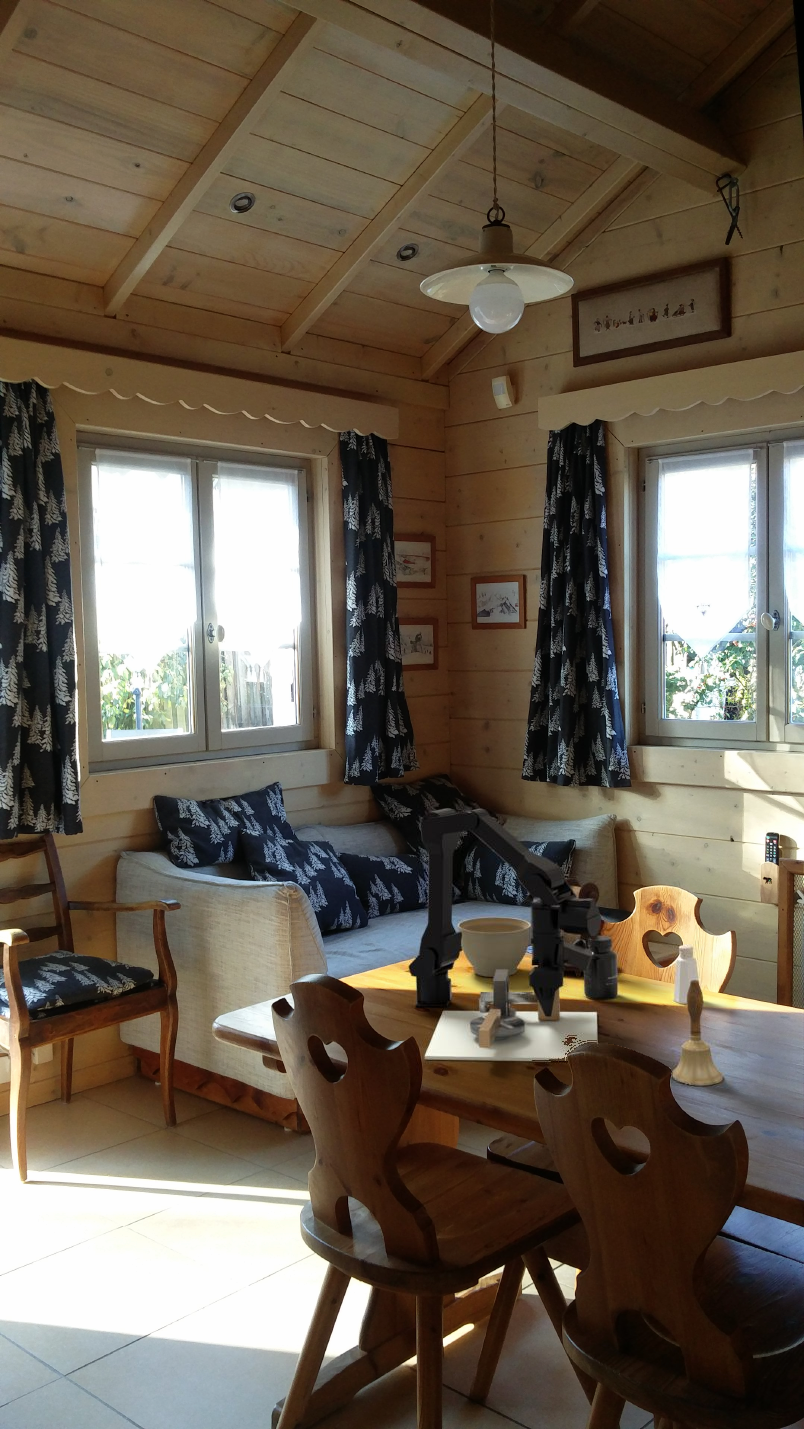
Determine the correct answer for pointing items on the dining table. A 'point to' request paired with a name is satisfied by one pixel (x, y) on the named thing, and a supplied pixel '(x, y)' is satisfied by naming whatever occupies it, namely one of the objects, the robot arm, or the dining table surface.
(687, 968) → the pepper shaker
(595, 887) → the brown upright piece
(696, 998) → the hand bell
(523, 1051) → the white board
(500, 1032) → the handwheel
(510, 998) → the wooden mallet
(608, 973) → the supplement bottle
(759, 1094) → the dining table surface
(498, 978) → the iron eye
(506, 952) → the planter bowl
